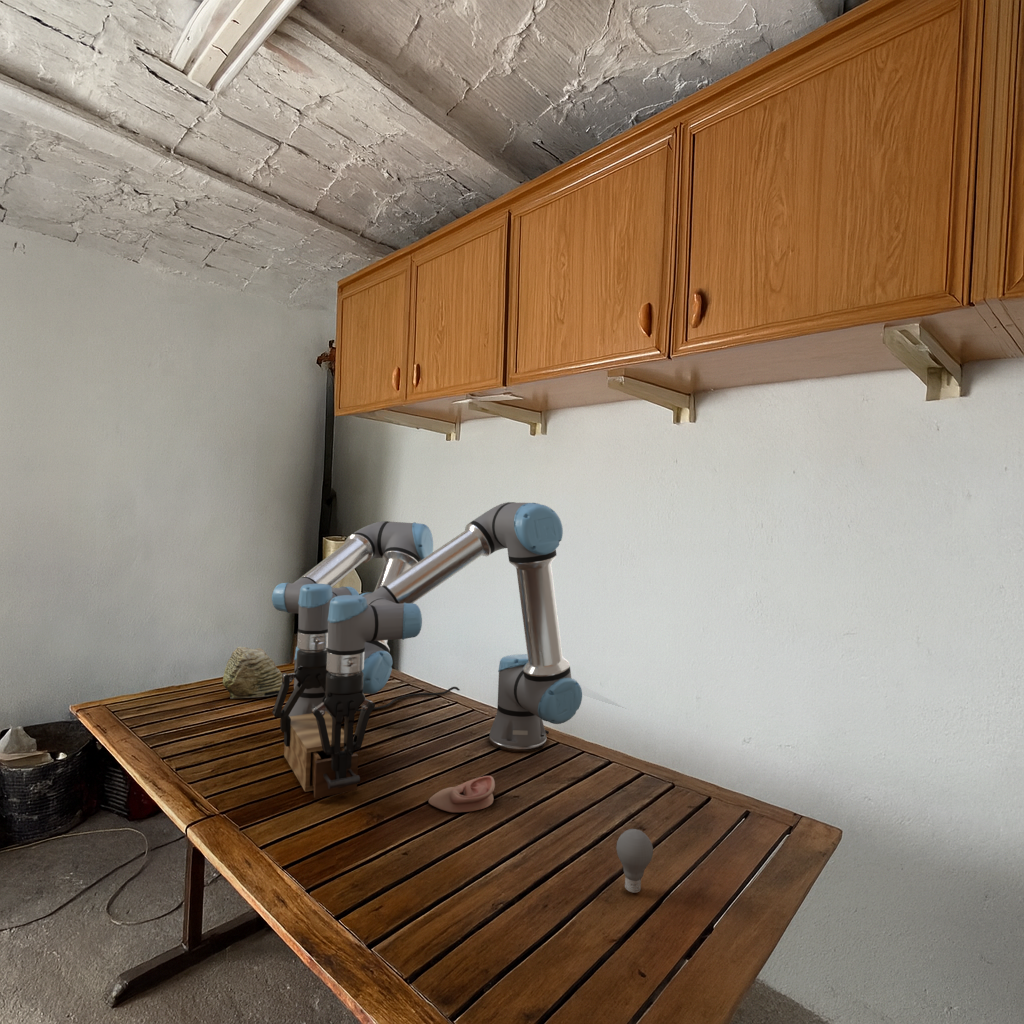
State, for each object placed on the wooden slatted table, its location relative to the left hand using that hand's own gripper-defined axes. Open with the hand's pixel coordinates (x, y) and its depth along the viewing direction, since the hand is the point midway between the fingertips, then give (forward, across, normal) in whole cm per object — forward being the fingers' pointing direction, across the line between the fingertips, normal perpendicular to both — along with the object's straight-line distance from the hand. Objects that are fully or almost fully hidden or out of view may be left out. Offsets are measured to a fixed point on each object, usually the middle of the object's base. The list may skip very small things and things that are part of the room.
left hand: (310, 740), depth 152 cm
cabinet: (+4, 0, -6) cm, 7 cm away
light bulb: (+4, +34, -76) cm, 84 cm away
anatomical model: (+4, +23, -35) cm, 42 cm away
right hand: (0, 0, -25) cm, 25 cm away
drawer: (+3, 0, -15) cm, 16 cm away
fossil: (+4, -3, +56) cm, 56 cm away
